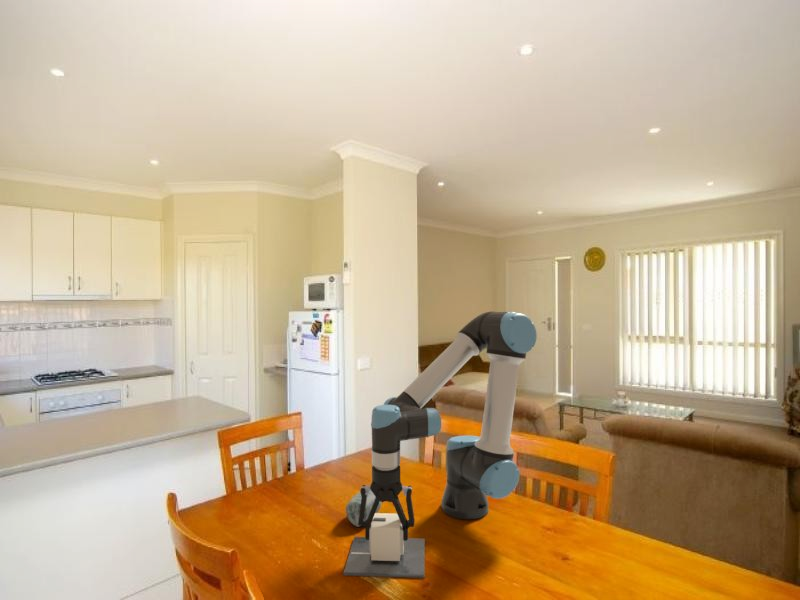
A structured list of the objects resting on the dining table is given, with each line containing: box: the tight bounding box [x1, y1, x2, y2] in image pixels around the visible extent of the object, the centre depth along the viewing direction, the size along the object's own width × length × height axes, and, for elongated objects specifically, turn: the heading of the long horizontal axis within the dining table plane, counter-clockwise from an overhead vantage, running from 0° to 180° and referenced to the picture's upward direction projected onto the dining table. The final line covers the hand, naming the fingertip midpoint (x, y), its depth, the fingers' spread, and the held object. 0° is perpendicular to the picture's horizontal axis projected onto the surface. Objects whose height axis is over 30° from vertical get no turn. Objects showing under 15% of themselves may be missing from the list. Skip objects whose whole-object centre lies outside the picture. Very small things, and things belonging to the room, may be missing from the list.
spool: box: [345, 490, 382, 528], centre depth 136 cm, size 14×10×10 cm
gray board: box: [343, 536, 426, 579], centre depth 115 cm, size 20×16×5 cm
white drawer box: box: [371, 512, 402, 561], centre depth 115 cm, size 7×7×9 cm
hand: (386, 551), depth 115 cm, fingers closed on white drawer box, 7 cm apart
